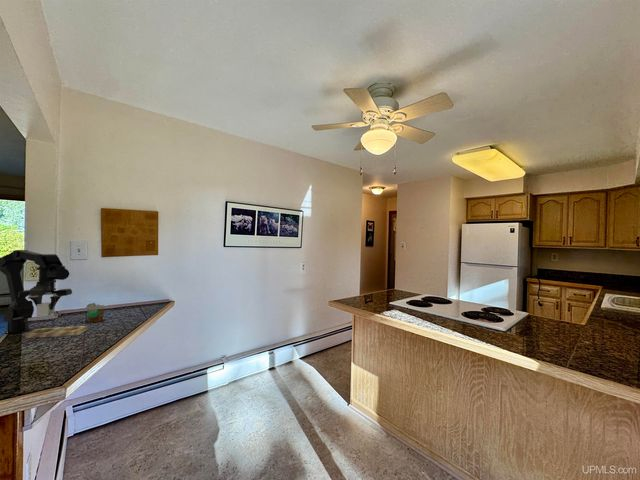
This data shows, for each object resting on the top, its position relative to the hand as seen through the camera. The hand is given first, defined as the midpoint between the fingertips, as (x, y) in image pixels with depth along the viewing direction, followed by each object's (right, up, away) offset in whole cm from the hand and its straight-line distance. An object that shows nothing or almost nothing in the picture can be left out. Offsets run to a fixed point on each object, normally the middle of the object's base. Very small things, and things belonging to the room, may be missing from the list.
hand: (45, 309), depth 134 cm
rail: (+5, -13, +1) cm, 14 cm away
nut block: (0, -3, 0) cm, 3 cm away
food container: (+4, -13, +23) cm, 27 cm away
